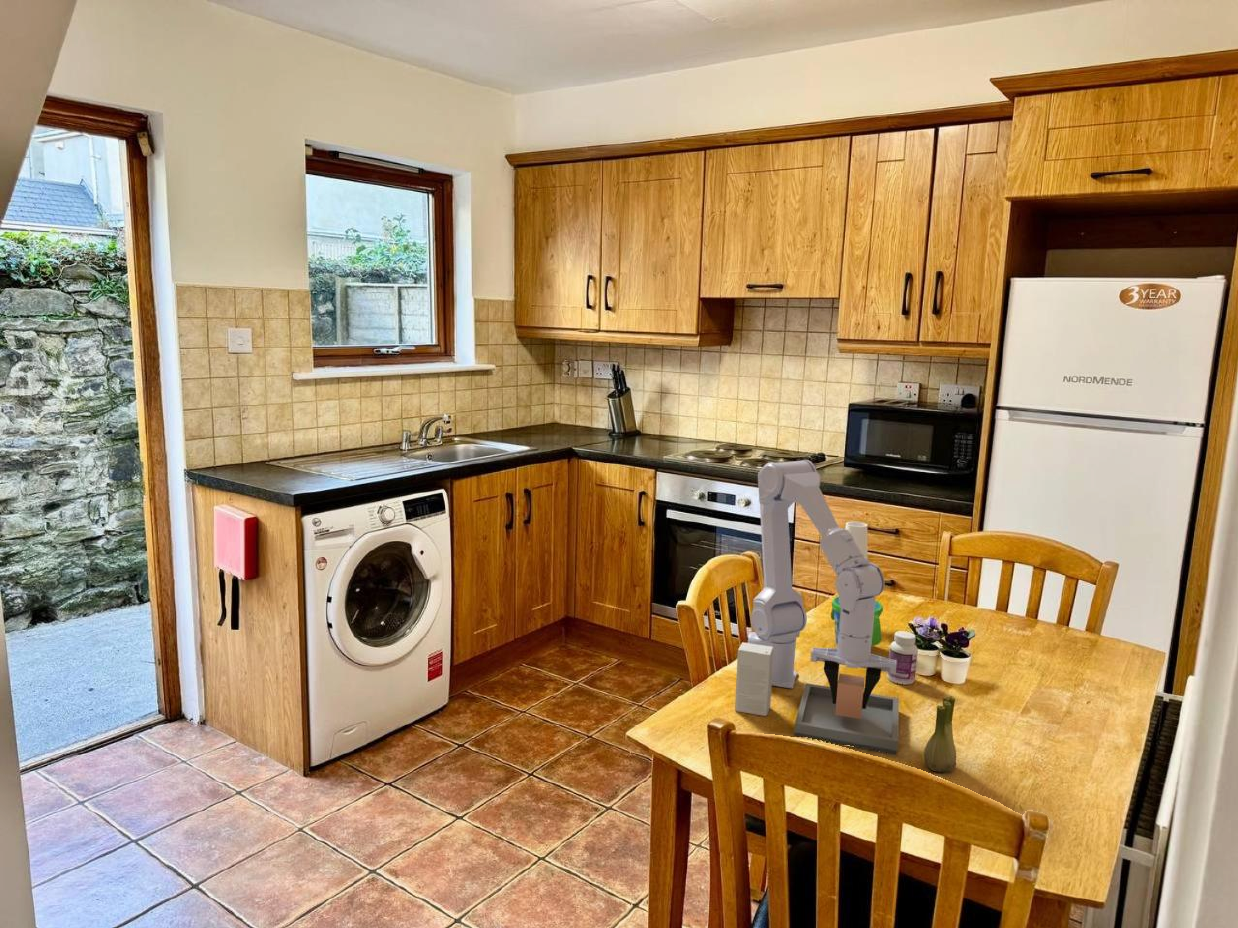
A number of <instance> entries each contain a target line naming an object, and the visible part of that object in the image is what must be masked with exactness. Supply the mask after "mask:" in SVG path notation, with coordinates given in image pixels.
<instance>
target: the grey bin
mask: <svg viewBox="0 0 1238 928" xmlns="http://www.w3.org/2000/svg"><path fill="white" fill-rule="evenodd" d="M863 694H864V692H863ZM899 701H900V698H898V697H893V696H887V695H880V694H875V693H871V694H870V696H869V699H868V702H867V705H866V709H862V713H861V719H857V718H851V717H845V716H840V715H835V711H836V704H833V701H832V693H831V688H830V686H828V685H827V686H826V685H819V684H813V683H807V682H805V684H804V688H803V692H802V695H801V700H800V703H799V707H798V711H797V715H796V718H795V722H794V733H793V737H794V736H796V737H795V738H799V737H808V738H812V739H817V740H822V741H826V742H830V743H829V744H832V743H835V744H834V745H838V744H839V746H843V745H850V746H854V747H856V748H855V749H860V750H866V751H871V752H878V753H882V752H883V754H887V753H888V754H887V755H893V756H898V749H899V747H898V745H899V716H900V715H899V711H900V710H899V709H900V702H899ZM826 742H825V743H826ZM854 747H853V748H854ZM879 751H880V752H879Z"/></svg>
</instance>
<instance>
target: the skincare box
mask: <svg viewBox="0 0 1238 928" xmlns="http://www.w3.org/2000/svg"><path fill="white" fill-rule="evenodd" d="M773 650H774V647H771V646H764V645H757V644H751V643H748V642H743V641H742V642H741V644H740V646H739V647H738V649H737V659H736V660H737V661H736V663H737V664H736V677H735V679H736V681H735V698H734V700H735V701H734V711H735V712H739V713H744V714H745V713H746V714H751V715H757V716H761V717H767V716H768V713H769V712H770V708H771V702H772V701H771V700H772V699H771V698H772V686H773V685H772V668H773Z"/></svg>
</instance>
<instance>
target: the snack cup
mask: <svg viewBox="0 0 1238 928" xmlns="http://www.w3.org/2000/svg"><path fill="white" fill-rule="evenodd" d="M831 607H832V608H831V611H830V618H831V620H832V621H834V620H835V622H834V633H835V644H836V645H837V646H838V635H839V624H840V612H841V607H840V604H839V595H838V596H836V597H834V598H833V600H832V601H831ZM883 611H884V607H883V604H882V603H881V602H880V601H878V600H876V602H875V613H874V623H873V634H872V644H871V647H872V646H877V645H879V644H880V643H882V639H883V638H882V637H883V635H882V627H881V621H880V617H881V615H882V613H883Z"/></svg>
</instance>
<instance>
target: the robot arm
mask: <svg viewBox="0 0 1238 928" xmlns="http://www.w3.org/2000/svg"><path fill="white" fill-rule="evenodd" d="M821 479H822V477H821V475H820V474H819V472H818V471H817V468H816V466H815V464H814V463H813V462H812V461H811V460H808V459H802V460H796V461H794V460H793V461H783V462H772V461H771V462H767V463H765V464H764V465H763V467H762V468H761V469H760V471H758V473H757V483H758V484H757V485H758V497H759V498H758V502H759V513H760V529H761V530H760V532H761V545H762V546H761V547H762V548H761V549H762V565H763V568H762V569H763V583H764V584H763V585H764V588H763V589H762V590H761V591H760V592H759V593H758V594H757V595H756V596H755V597H754V598H753V608H752V612H751V617H750V618H751V619H750V621H751V626H752V629H753V631H752V632H751V631H750V632H749V635H748V638H747V643H751V644H757V645H764V646H771V647H774V650H773V668H772V686H773V687H780V688H786V689H793V688H794V685H795V682H796V678H797V676H798V670H795V661H796V660H795V659H796V658H795V657H796V649H797V648H796V645H797V638H799V637H800V633H801V632H802V631H803V630H804V629H805V628H806V625H807V620H808V618H807V613H806V609H805V607H804V603H803V595H801V594H800V593H799V592H798V591H797V590H796V589H794V588H793V579H792V559H791V542H790V541H791V539H790V527H789V526H790V524H789V523H790V522H789V508H790V507H791V506H792V505H793V504H794V503H795V504H799V505H800V506H801V508H802V510H803V511H804V513H806V515H807V517H808V519H809V520H810V521H811V523H812V524H813V526H814V527H815V529H816V530H817V531H818V533H819V534H820V536H821V538H820V542H819V547H820V549H821V551H822V552H823V554H824V556H825V558H826V559H827V561H828V562H829V565H830V566H831V568H832V570H833V571H834V573H835V574H836V577H837V578H835V580H834V584H835V589H836V591H837V594H838V596H839V604H840V607H841V612H840V624H839V635H838V645H837V648H823V647H822V648H820V647H812V648H811V652H810V662H812V663H813V662H814V663H817V662H821V663H823V671H824V674H825V676H826V679H827V681H828V684H829V687H830V688H831V693H832V701H833V704H836V699H837V687H838V679H839V674H840V665H841V666H845V667H847V668H852V669H858V668H861V669H866V670H865V681H864V694H863V701H862V709H866V705H867V702H868V699H869V696H870V694H872V692H873V690H874V689H875V687H876V686H877V684H879V682H880V679H881V678H882V672H887V673H888V672H889V673H890V674H896V662H897V660H893V659H889V657H888V658H887V657H884V656H881V655H876V654H873V653H871V652H872V646H871V644H872V634H873V623H874V613H875V602H876V601H877V597H878V596H880V595H881V594H882V593H883V591H884V589H885V585H886V584H885V577H884V574H883V572H882V570H881V567H880V566H878V565H877V564H875V563H873V562H871V560H870V559H865V558H864V556H863V554H862V553H861V551H860V549H859V548H858V546H857V544H856V543H855V541H854V539H853V536H852V535H851V533H849V531H848V530H846V529H845V528H843V527H840V526H839V525H838V523H837V521H836V519H835V517H834V514H833V513H832V511H831V509H830V507H829V505H828V503H827V501H826V499H825V496H824V495H823V492H822V490H821V489H820V488H821V487H820V486H821Z"/></svg>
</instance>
